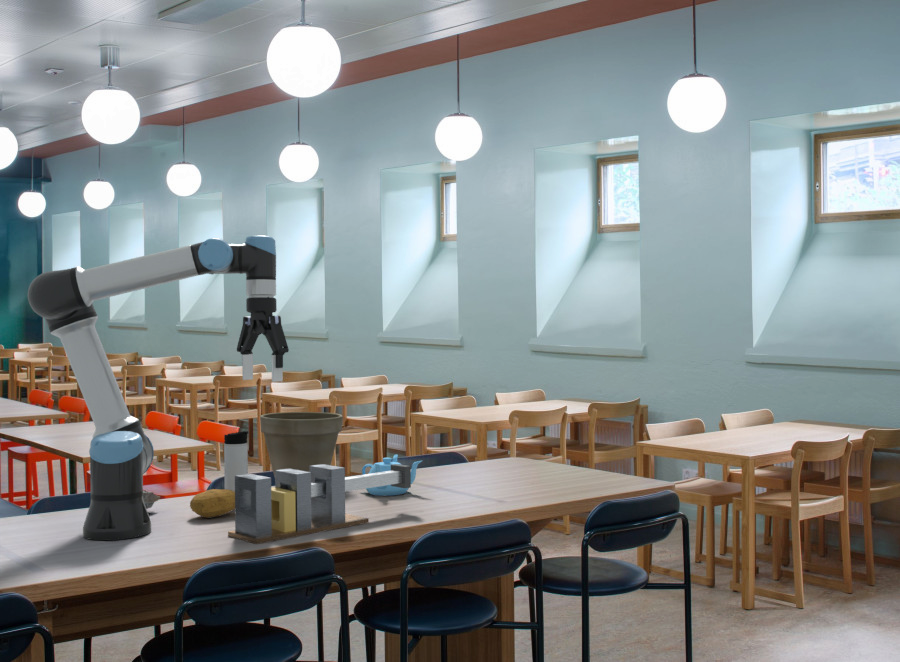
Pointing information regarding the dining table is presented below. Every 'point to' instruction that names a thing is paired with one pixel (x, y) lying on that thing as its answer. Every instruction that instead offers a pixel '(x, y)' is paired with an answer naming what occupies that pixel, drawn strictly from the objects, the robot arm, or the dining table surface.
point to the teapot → (386, 466)
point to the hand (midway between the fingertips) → (262, 380)
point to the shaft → (369, 480)
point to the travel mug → (235, 457)
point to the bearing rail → (310, 511)
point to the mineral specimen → (149, 498)
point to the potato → (213, 502)
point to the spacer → (283, 509)
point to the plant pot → (300, 438)
